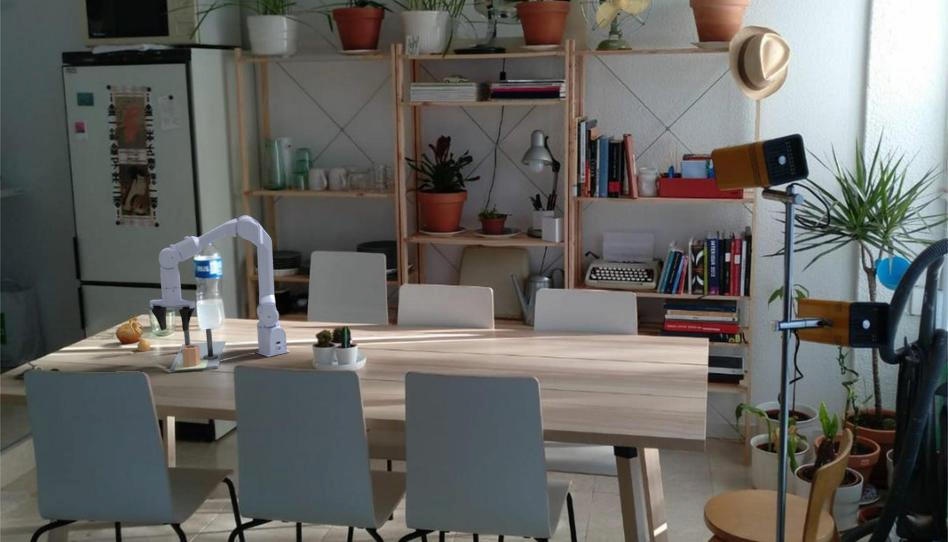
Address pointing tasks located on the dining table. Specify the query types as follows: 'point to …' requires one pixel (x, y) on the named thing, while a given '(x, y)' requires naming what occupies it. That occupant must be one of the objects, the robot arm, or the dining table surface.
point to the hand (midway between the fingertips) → (174, 329)
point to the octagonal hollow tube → (190, 355)
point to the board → (212, 363)
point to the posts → (209, 343)
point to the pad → (202, 365)
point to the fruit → (126, 334)
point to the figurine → (142, 344)
